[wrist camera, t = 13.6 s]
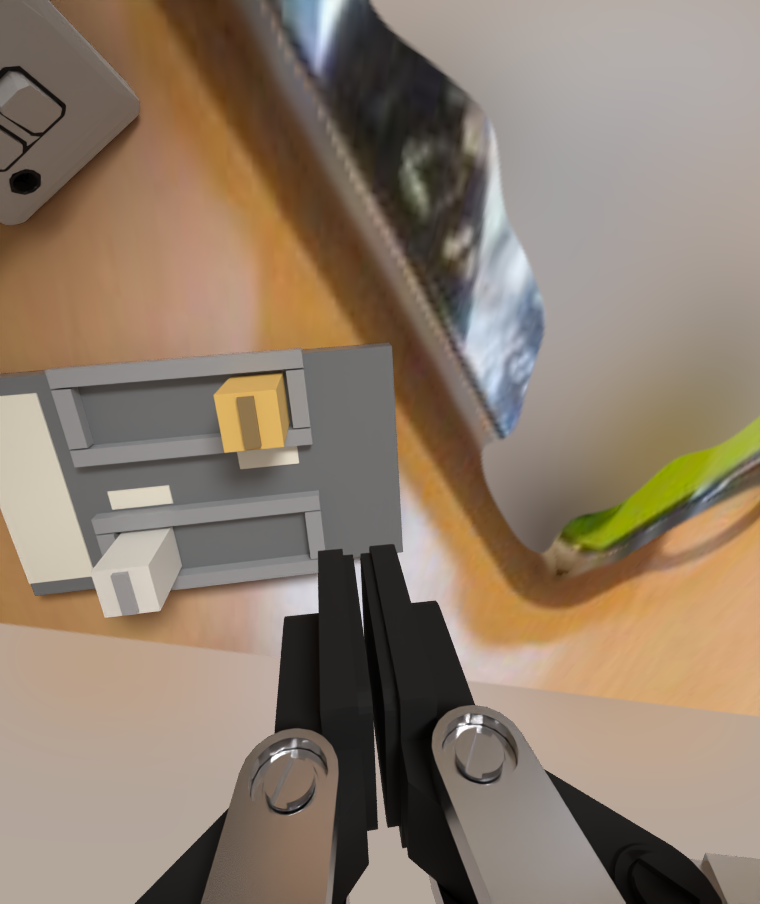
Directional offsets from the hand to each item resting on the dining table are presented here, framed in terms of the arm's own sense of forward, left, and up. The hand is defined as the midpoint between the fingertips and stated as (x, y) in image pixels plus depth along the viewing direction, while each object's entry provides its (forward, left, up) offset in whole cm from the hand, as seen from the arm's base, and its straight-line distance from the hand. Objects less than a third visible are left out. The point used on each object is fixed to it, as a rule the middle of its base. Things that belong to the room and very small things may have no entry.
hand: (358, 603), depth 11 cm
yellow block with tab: (0, -4, -19) cm, 20 cm away
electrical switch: (-15, -13, -21) cm, 29 cm away
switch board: (+4, -8, -21) cm, 23 cm away
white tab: (+9, -12, -19) cm, 24 cm away
